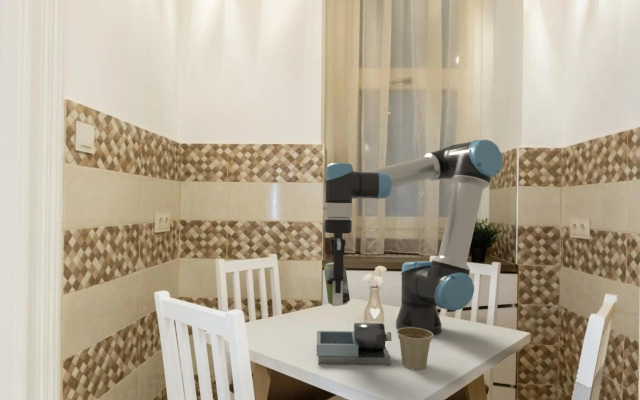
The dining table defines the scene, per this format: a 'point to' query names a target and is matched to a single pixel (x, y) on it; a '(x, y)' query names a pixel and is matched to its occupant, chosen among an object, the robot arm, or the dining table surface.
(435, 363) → the dining table surface
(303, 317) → the dining table surface
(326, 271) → the beverage can
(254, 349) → the dining table surface
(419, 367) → the flower pot
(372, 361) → the motor housing
